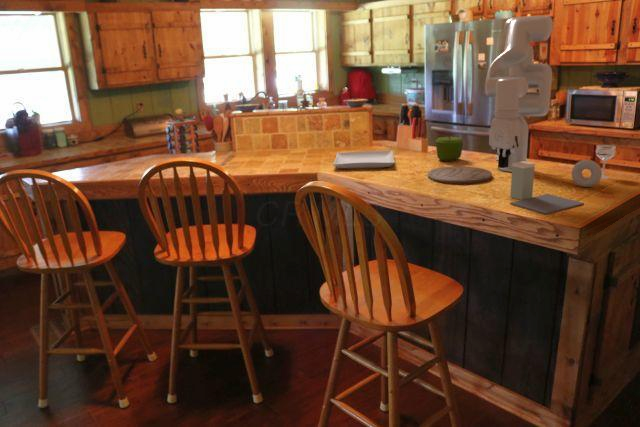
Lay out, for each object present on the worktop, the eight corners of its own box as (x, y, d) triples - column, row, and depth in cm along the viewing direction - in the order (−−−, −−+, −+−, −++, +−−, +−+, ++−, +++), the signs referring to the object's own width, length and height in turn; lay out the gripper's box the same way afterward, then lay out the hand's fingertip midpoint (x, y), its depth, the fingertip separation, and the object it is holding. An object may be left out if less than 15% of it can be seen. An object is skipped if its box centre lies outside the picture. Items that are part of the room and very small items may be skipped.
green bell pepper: (457, 163, 237) (458, 138, 234) (431, 161, 243) (431, 137, 240) (465, 158, 247) (466, 134, 244) (440, 156, 253) (441, 132, 250)
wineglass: (607, 180, 199) (610, 148, 196) (589, 177, 205) (592, 146, 201) (616, 177, 203) (619, 146, 199) (598, 174, 208) (601, 143, 205)
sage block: (510, 197, 184) (512, 163, 181) (520, 194, 186) (522, 161, 183) (521, 200, 180) (524, 165, 176) (532, 197, 182) (534, 163, 179)
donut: (601, 187, 190) (604, 160, 187) (598, 189, 188) (601, 162, 185) (572, 184, 197) (574, 157, 194) (568, 186, 194) (571, 159, 191)
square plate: (392, 157, 258) (392, 149, 257) (394, 170, 232) (394, 161, 231) (337, 159, 261) (337, 151, 260) (333, 171, 235) (332, 163, 234)
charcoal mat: (510, 204, 176) (510, 202, 176) (547, 195, 184) (547, 193, 184) (545, 214, 164) (545, 213, 164) (583, 204, 172) (583, 203, 172)
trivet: (498, 173, 219) (498, 168, 218) (482, 187, 198) (482, 183, 198) (439, 168, 231) (439, 164, 231) (418, 182, 211) (419, 177, 210)
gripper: (482, 114, 187) (479, 165, 193) (515, 118, 174) (511, 172, 180) (497, 112, 190) (494, 162, 196) (531, 115, 178) (527, 169, 183)
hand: (503, 167), depth 188 cm, fingers closed
